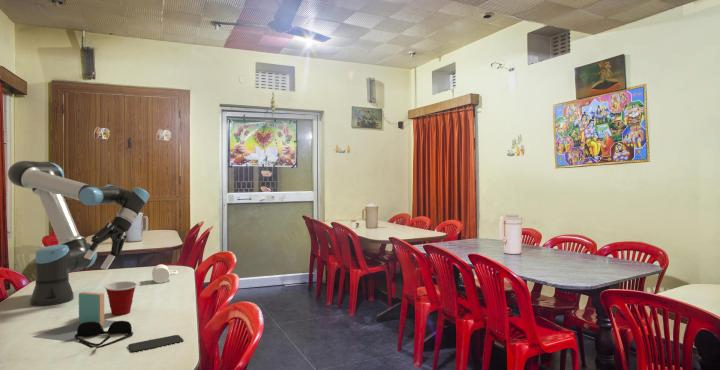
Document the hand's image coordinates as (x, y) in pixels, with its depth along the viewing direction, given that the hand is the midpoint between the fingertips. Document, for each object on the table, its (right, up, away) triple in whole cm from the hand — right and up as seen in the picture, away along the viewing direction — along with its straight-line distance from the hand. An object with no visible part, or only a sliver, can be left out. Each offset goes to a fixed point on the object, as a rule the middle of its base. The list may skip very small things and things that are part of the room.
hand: (95, 264), depth 179 cm
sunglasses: (+29, -17, -45) cm, 56 cm away
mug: (+9, -17, +43) cm, 48 cm away
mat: (+15, -17, -33) cm, 40 cm away
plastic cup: (+19, -17, -15) cm, 30 cm away
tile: (+16, -16, -28) cm, 36 cm away
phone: (+47, -17, -44) cm, 67 cm away
